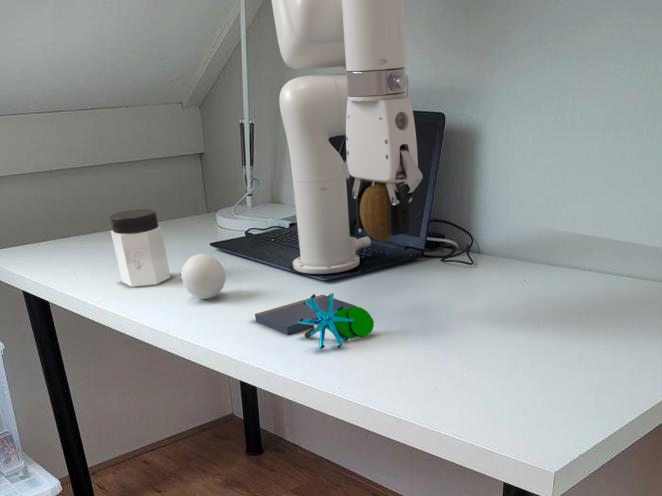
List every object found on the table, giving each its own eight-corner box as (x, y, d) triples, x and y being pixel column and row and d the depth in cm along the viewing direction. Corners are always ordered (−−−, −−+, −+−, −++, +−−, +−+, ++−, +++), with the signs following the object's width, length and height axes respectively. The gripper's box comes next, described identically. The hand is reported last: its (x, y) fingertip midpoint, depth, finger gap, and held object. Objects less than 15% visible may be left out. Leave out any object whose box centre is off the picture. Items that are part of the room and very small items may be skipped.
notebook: (323, 301, 122) (322, 294, 122) (357, 313, 116) (356, 305, 116) (255, 321, 116) (254, 313, 115) (287, 334, 110) (286, 326, 109)
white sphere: (237, 294, 129) (231, 251, 125) (207, 307, 124) (199, 262, 120) (196, 287, 134) (189, 245, 130) (165, 299, 129) (157, 256, 125)
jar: (119, 288, 136) (103, 220, 130) (125, 276, 143) (110, 211, 137) (168, 284, 137) (155, 216, 131) (172, 272, 144) (160, 207, 138)
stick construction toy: (312, 342, 99) (301, 287, 100) (286, 360, 105) (277, 308, 106) (383, 345, 106) (373, 293, 107) (356, 362, 112) (346, 313, 113)
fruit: (364, 236, 109) (361, 177, 105) (407, 235, 108) (405, 176, 104) (358, 246, 104) (354, 185, 100) (403, 245, 103) (401, 183, 99)
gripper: (444, 83, 92) (445, 233, 101) (357, 83, 104) (365, 218, 113) (398, 89, 88) (403, 244, 97) (313, 88, 100) (325, 227, 109)
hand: (382, 229), depth 105 cm, fingers closed on fruit, 6 cm apart
